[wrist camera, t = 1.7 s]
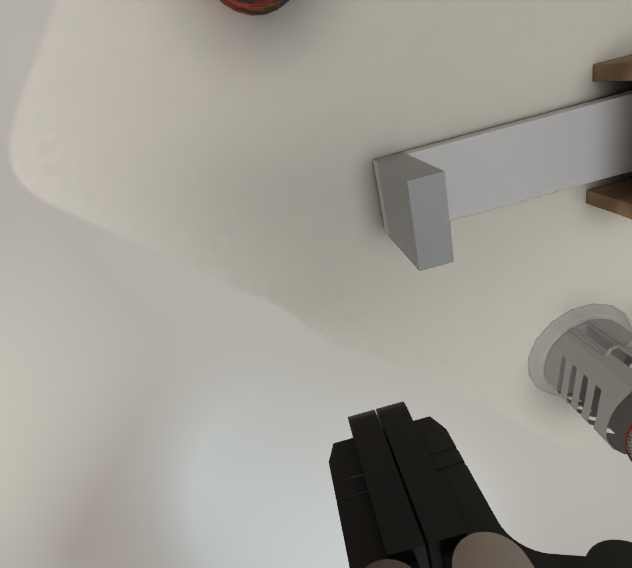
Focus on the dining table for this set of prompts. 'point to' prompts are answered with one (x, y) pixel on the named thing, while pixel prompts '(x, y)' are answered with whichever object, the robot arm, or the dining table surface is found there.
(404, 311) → the dining table surface
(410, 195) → the sled
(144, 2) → the dining table surface
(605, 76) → the tunnel
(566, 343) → the french press
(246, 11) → the deodorant
